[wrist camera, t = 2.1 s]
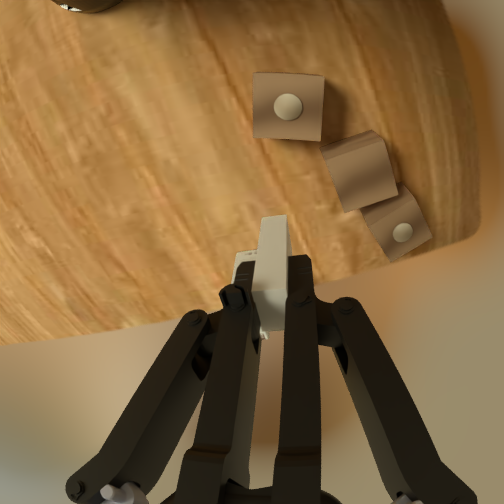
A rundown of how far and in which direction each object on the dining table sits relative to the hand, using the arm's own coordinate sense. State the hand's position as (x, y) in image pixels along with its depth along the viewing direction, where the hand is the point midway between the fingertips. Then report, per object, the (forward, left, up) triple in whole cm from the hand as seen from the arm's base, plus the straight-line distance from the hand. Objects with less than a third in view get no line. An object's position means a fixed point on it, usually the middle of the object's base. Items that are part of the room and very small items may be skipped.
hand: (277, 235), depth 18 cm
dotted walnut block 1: (-5, +2, -20) cm, 21 cm away
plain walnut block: (+4, +9, -20) cm, 22 cm away
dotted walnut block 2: (+12, +14, -20) cm, 27 cm away
